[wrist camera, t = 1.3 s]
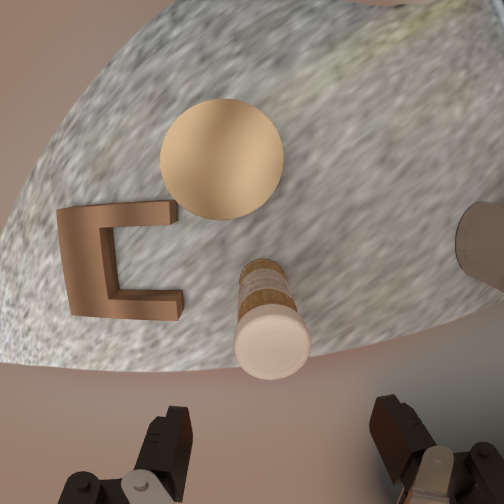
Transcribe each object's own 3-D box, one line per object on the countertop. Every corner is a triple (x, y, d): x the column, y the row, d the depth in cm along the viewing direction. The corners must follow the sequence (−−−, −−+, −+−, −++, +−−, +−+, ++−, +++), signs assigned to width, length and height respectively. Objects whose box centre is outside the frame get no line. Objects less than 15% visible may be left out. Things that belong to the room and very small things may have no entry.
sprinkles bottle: (274, 307, 31) (291, 390, 18) (232, 292, 30) (222, 370, 17) (292, 267, 30) (325, 330, 17) (249, 250, 29) (250, 305, 16)
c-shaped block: (176, 199, 28) (169, 201, 25) (183, 308, 31) (178, 320, 28) (71, 206, 28) (56, 209, 25) (84, 304, 30) (71, 315, 27)
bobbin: (271, 123, 27) (282, 98, 18) (272, 207, 28) (284, 219, 20) (186, 126, 27) (160, 103, 18) (187, 209, 28) (161, 221, 20)
